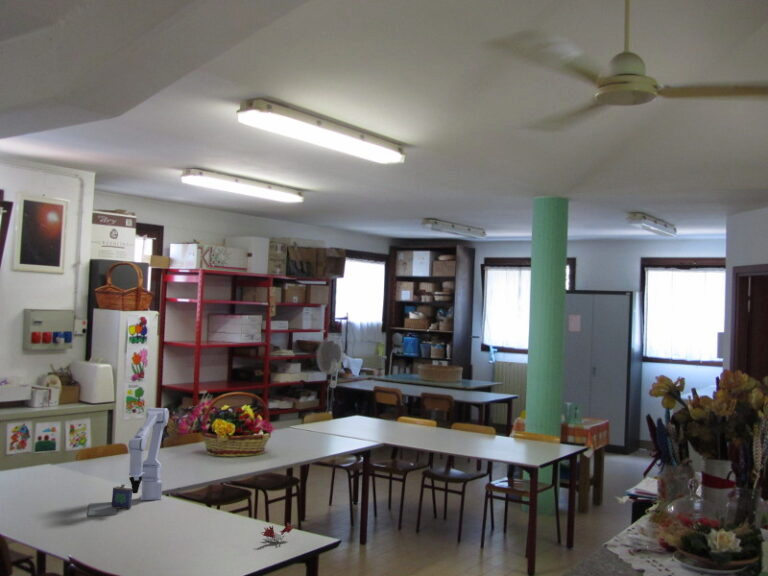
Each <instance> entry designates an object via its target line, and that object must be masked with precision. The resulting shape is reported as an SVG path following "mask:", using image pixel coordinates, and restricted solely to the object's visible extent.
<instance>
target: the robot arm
mask: <svg viewBox="0 0 768 576" xmlns="http://www.w3.org/2000/svg"><path fill="white" fill-rule="evenodd" d="M145 418H146V419H145V422H144V424H143V426H140V427H139V428H138V430H137V432H136V433H135V435H134V437H132V438H130V439H129V442H128V445H127V447H128V451H129V473H128V476H129V482H130V484H131V489H132V490H133V491H132V494H138V493H139V489H140V484H141V495H140V501H153V500H155V501H156V500H157V501H158V500H162V495H163V491H162V487H163V486H162V479H160V478H162V474H163V473H162V472H163V471H162V470H163V468H162V467H163V464H162V463H161V462H160V461H159V460H158V459H159V454H160V448H161V443H162V438H163V433H164V429H165V427H166V426H168V422H169V418H170V412H169V409H168V408H167V407H165V408H162V407H150V406H149V407H148V408H147V409H146V412H145ZM152 428H153V429H152ZM151 430H152V433H151ZM150 434H151V435H150ZM149 436H151V438H150V444H149V448H148V453H147V458H146V460H144V450H145V449H146V446H147V443H148V438H149Z"/></svg>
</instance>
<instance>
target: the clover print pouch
mask: <svg viewBox="0 0 768 576" xmlns="http://www.w3.org/2000/svg"><path fill="white" fill-rule="evenodd" d="M125 486H126V485H125V484H124V483H122V484H120V486H118V485H117V486H113V488H112V495H111V496H112V498H111V502H112V507H115V508H117V509H128V510H129V509H131V508H132V501H133V492H132V491H133V490H132V487H131V488H130V487H129V488H128V487H125Z"/></svg>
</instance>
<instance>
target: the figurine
mask: <svg viewBox="0 0 768 576" xmlns="http://www.w3.org/2000/svg"><path fill="white" fill-rule="evenodd" d="M286 523H287V524H286V525H285V527H284V528H283V529H282V530H279V531H276V532H275V529H274V525H272V526H270V525H269V526H268V527H263V528H264V531H261V532H260V534H261V535H263V537H266V541H268V542H272V541H275V543H277V542H279V541H281V542H283V541H284V540H283V539H284V538H285V537H286V535H285V534H284V533H288V534H289V533H290V532H291V531H292V530H294V528H293V524H291V523H290V522H286Z"/></svg>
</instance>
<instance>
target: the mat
mask: <svg viewBox="0 0 768 576" xmlns="http://www.w3.org/2000/svg"><path fill="white" fill-rule="evenodd" d="M117 515H118V508H115V507H112V501H110V502H109V501H106V502H105V501H104V502H93V503H92V502H91V503H90V502H89V505H88V516H87V517H88V518H90V517H101V516H103V517H106V516H117Z"/></svg>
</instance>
